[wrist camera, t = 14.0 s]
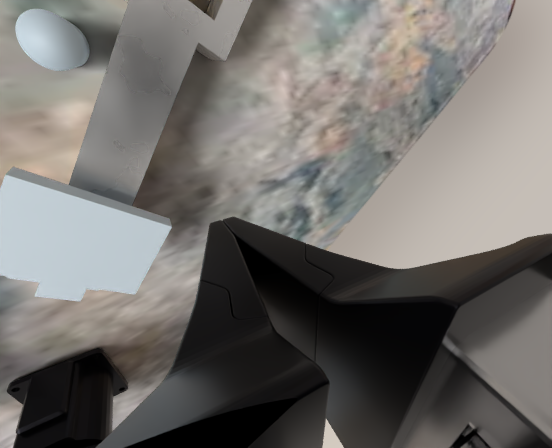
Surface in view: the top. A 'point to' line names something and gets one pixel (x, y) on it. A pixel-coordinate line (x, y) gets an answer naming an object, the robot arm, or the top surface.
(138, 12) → the link
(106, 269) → the pair of pale-grey parts
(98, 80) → the top surface
